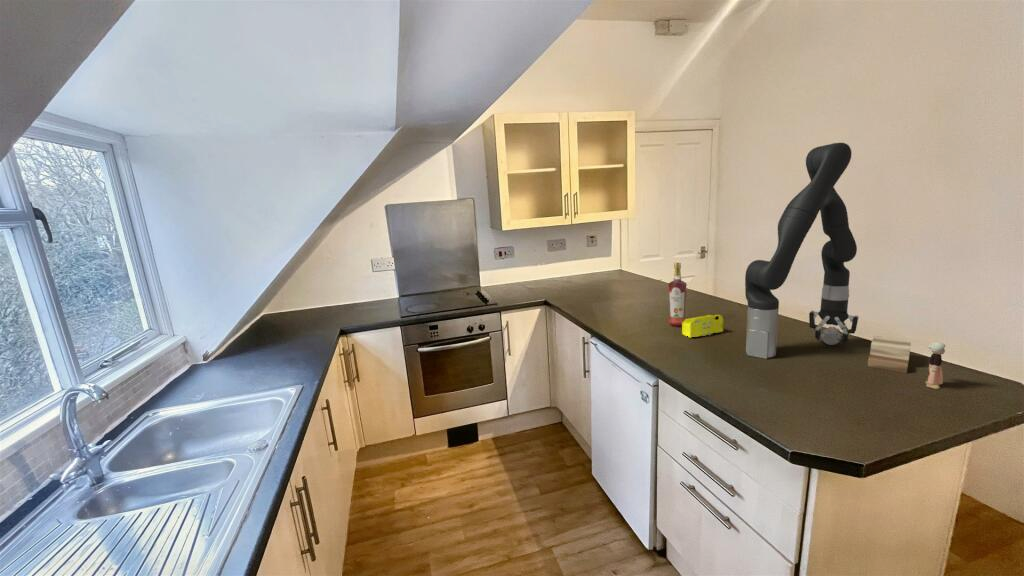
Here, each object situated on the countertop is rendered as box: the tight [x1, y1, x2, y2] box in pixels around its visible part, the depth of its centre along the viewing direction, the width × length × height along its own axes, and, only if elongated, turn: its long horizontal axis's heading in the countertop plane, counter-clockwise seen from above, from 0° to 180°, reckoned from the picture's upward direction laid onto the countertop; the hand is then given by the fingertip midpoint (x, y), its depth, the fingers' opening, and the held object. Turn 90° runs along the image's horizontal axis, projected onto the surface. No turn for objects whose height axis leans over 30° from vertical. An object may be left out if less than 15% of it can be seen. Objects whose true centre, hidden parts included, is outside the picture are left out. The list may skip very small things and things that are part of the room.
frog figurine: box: [820, 326, 843, 346], centre depth 147 cm, size 6×7×7 cm
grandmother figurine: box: [925, 341, 946, 390], centre depth 114 cm, size 8×4×13 cm, turn 148°
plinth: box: [867, 335, 912, 374], centre depth 131 cm, size 14×9×6 cm, turn 135°
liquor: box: [668, 262, 688, 327], centre depth 180 cm, size 7×7×28 cm
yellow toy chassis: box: [681, 314, 724, 339], centre depth 168 cm, size 16×6×8 cm, turn 106°
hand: (830, 341), depth 148 cm, fingers open, 6 cm apart
